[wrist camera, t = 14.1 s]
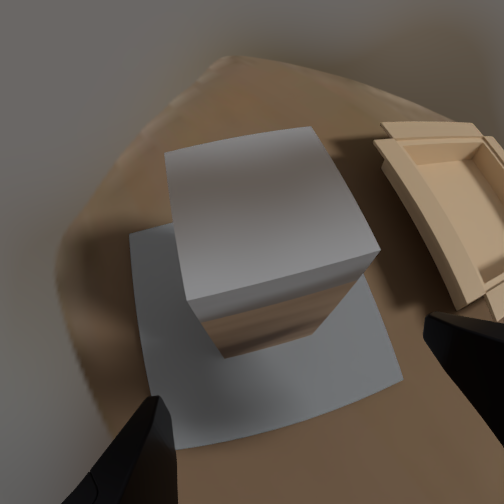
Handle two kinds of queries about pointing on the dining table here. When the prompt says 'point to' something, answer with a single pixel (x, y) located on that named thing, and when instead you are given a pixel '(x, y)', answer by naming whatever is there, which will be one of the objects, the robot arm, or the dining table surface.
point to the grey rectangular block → (265, 236)
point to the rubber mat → (249, 357)
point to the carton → (453, 202)
